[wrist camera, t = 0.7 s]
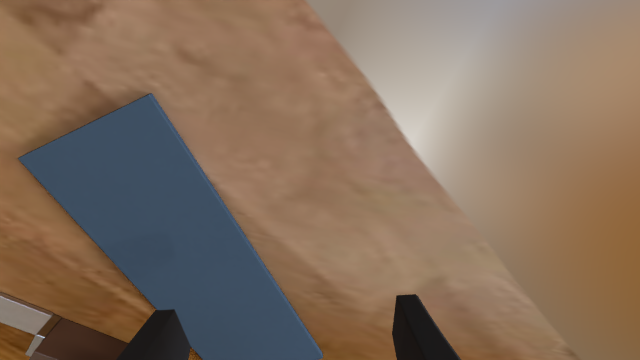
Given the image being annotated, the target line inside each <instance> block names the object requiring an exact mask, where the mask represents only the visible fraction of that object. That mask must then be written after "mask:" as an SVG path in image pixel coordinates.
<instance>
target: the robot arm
mask: <svg viewBox="0 0 640 360" xmlns="http://www.w3.org/2000/svg"><path fill="white" fill-rule="evenodd" d="M392 335H393V341H394V346H395V352H396V357H397V360H461V359H460V358H459V356H458V355H457V354H456V352H455V351H454V349H453V348H452V347H451V345H450V344H449V343H448V341H447V340H446V338H445V337H444V336H443V334H442V333H441V331H440V330H439V328H438V327H437V325H436V324H435V322H434V321H433V319H432V318H431V316H430V315H429V313H428V312H427V310H426V308H425V307H424V305H423V304H422V302H421V300H420V299H419V297H418V296H417V295H416V294H414V295H398V296H397V297H396V305H395V314H394V322H393V331H392ZM190 347H191V346H190V343H189V341H188V339H187V337H186V334H185V332H184V330H183V328H182V325H181V323H180V321H179V318H178V316H177V314H176V312H175V309H171V310H156V311H155V312H154V313H153V314H152V315H151V316H150V318H149V319H148V320H147V321H146V323H145V324H144V325H143V326H142V328H141V329H140V330H139V331H138V333H137V334H136V335H135V336H134V338H133V339H132V340H131V341H130V343H129V344H128V345H127V346H126V348H125V349H124V350H123V351H122V352H121V354H120V355H119V356H118V357H117V359H116V360H188V358H189V353H190Z"/></svg>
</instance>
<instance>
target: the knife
mask: <svg viewBox="0 0 640 360" xmlns="http://www.w3.org/2000/svg"><path fill="white" fill-rule="evenodd" d="M0 322H1V323H4V324H7V325H9V326H12V327H15V328H17V329H20V330H23V331H26V332H28V333H31V334H34V335H35V337H34V339H33V341H32V342H31V344H30V346H29V348H28V350H27V352H26V354H25V355H27V356H30V359H29V360H116V359H117V357H118V356H119V355H120V354H121V352H122V351H123V350H124V349H125V348H126V346H127V345H128V343H125V342H123V341H120V340H118V339H115V338H113V337H110V336H108V335H105V334H102V333H100V332H97V331H95V330H92V329H90V328H87V327H85V326H82V325H79V324H77V323H74V322H72V321H69V320H67V319H64V318H62V317H60V316H58V315H55V314H54V313H52V312H50V311H47V310H44V309H42V308H39V307H37V306H34V305H32V304H29V303H27V302H24V301H22V300H19V299H16V298H14V297H11V296H9V295H6V294H4V293H1V292H0Z"/></svg>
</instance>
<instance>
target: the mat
mask: <svg viewBox="0 0 640 360" xmlns="http://www.w3.org/2000/svg"><path fill="white" fill-rule="evenodd" d="M18 159H19V160H20V161H21V162H22V164H23V165H24V166H25V167H26V168H27V169H28V170H29V171H30V172H31V173H32V174H33V175H34V177H35V178H36V179H37V180H38V181H39V182H40V183H41V184H42V185H43V186H44V187H45V189H46V190H47V191H48V192H49V193H50V194H51V195H52V196H53V197H54V198H55V199H56V200H57V202H58V203H59V204H60V205H61V206H62V207H63V208H64V209H65V210H66V211H67V212H68V213H69V215H70V216H71V217H72V218H73V219H74V220H75V221H76V222H77V223H78V224H79V225H80V227H81V228H82V229H83V230H84V231H85V232H86V233H87V234H88V235H89V236H90V237H91V238H92V240H93V241H94V242H95V243H96V244H97V245H98V246H99V247H100V248H101V249H102V250H103V252H104V253H105V254H106V255H107V256H108V257H109V258H110V259H111V260H112V261H113V262H114V263H115V265H116V266H117V267H118V268H119V269H120V270H121V271H122V272H123V273H124V274H125V275H126V277H127V278H128V279H129V280H130V281H131V282H132V283H133V284H134V285H135V286H136V287H137V288H138V290H139V291H140V292H141V293H142V294H143V295H144V296H145V297H146V298H147V299H148V300H149V302H150V303H151V304H152V305H153V306H154V307H155V308H156V309H157V310H171V309H175V312H176V314H177V316H178V318H179V321H180V323H181V325H182V328H183V330H184V332H185V334H186V337H187V339H188V341H189V343H190V346H191V347H192V348H193V349H194V350H195V352H196V353H197V354H198V355H199V356H200V357H201V358H202V359H203V360H318V359H321V358H323V353H322V352H321V350H320V349H319V347H318V346H317V344H316V343H315V341H314V340H313V338H312V337H311V335H310V333H309V332H308V330H307V329H306V327H305V326H304V324H303V323H302V321H301V320H300V318H299V317H298V315H297V314H296V312H295V311H294V309H293V308H292V306H291V305H290V303H289V301H288V300H287V298H286V297H285V295H284V294H283V292H282V291H281V289H280V288H279V286H278V285H277V283H276V282H275V280H274V279H273V277H272V276H271V274H270V273H269V271H268V269H267V268H266V266H265V265H264V263H263V262H262V260H261V259H260V257H259V256H258V254H257V253H256V251H255V250H254V248H253V247H252V245H251V244H250V242H249V241H248V239H247V237H246V236H245V234H244V233H243V231H242V230H241V228H240V227H239V225H238V224H237V222H236V221H235V219H234V218H233V216H232V215H231V213H230V212H229V210H228V209H227V207H226V205H225V204H224V202H223V201H222V199H221V198H220V196H219V195H218V193H217V192H216V190H215V189H214V187H213V186H212V184H211V183H210V181H209V180H208V178H207V177H206V175H205V173H204V172H203V170H202V169H201V167H200V166H199V164H198V163H197V161H196V160H195V158H194V157H193V155H192V154H191V152H190V151H189V149H188V148H187V146H186V145H185V143H184V142H183V140H182V138H181V137H180V135H179V134H178V132H177V131H176V129H175V128H174V126H173V125H172V123H171V122H170V120H169V119H168V117H167V116H166V114H165V113H164V111H163V110H162V108H161V106H160V105H159V103H158V102H157V100H156V99H155V97H154V96H153V94H152V93H151V94H148V95H146V96H144V97H142V98H140V99H138V100H136V101H134V102H132V103H130V104H128V105H126V106H124V107H122V108H120V109H118V110H116V111H113V112H111V113H109V114H107V115H105V116H103V117H101V118H99V119H97V120H95V121H93V122H91V123H89V124H87V125H85V126H83V127H81V128H79V129H77V130H75V131H73V132H70V133H68V134H66V135H64V136H62V137H60V138H58V139H56V140H54V141H52V142H50V143H48V144H46V145H44V146H42V147H40V148H38V149H36V150H34V151H32V152H30V153H27V154H25V155H23V156H21V157H19V158H18Z"/></svg>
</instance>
